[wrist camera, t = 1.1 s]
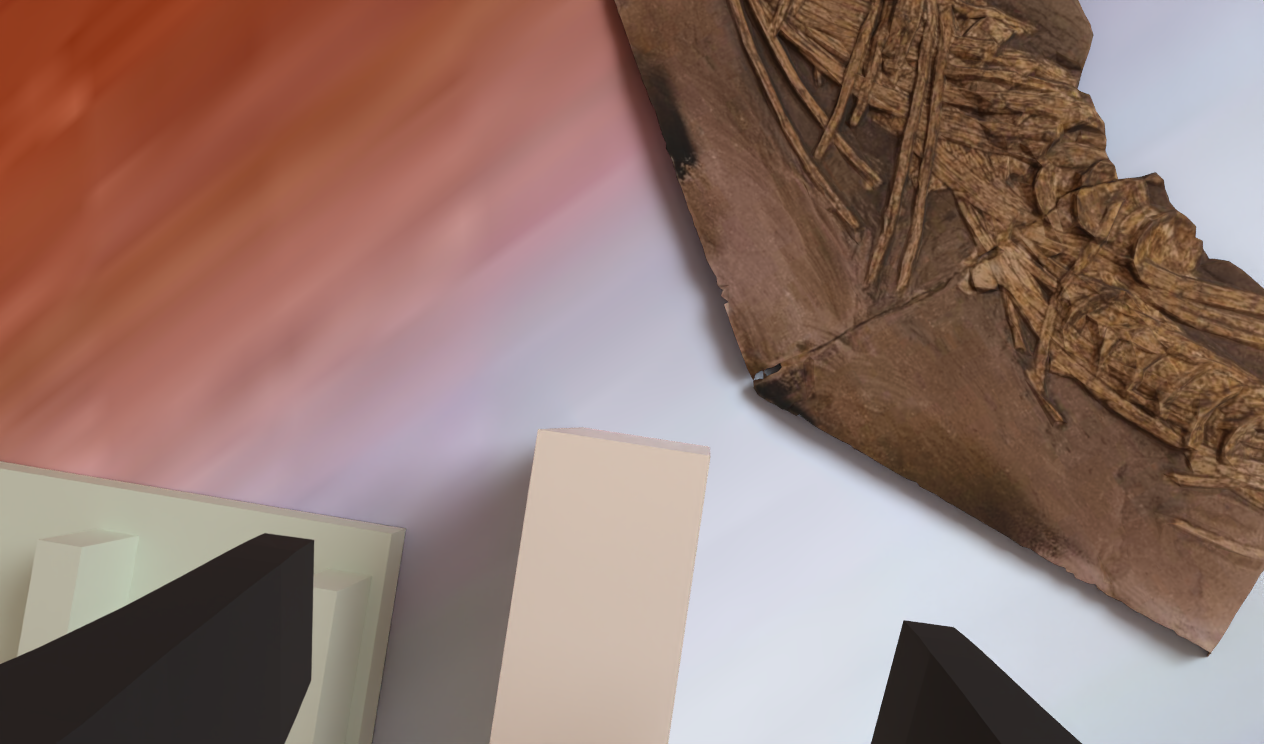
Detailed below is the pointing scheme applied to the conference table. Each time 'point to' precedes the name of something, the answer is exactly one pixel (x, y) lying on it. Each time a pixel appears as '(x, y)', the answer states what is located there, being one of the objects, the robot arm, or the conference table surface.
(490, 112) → the conference table surface
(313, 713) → the rack
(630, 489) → the beige rectangular block
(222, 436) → the conference table surface
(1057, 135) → the wooden fragment
